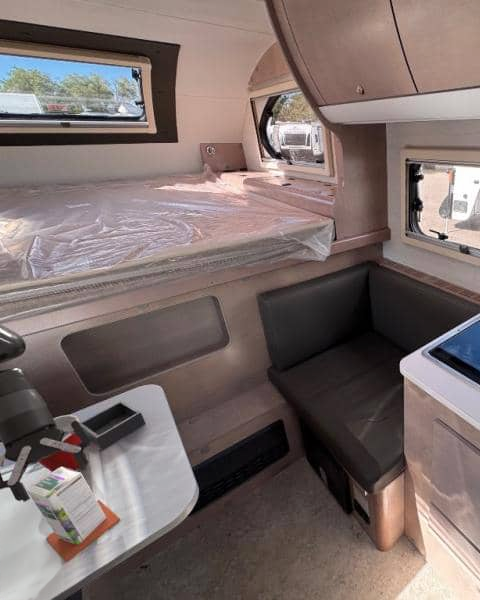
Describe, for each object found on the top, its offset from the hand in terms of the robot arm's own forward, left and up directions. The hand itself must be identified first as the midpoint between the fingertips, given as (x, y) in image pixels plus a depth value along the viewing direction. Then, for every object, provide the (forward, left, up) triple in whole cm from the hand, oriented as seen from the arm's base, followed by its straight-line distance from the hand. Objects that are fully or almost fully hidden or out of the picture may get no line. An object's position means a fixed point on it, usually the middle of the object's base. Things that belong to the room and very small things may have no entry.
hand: (56, 484), depth 66 cm
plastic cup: (+5, +17, -10) cm, 20 cm away
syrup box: (-1, -5, -10) cm, 11 cm away
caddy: (+16, +20, -10) cm, 28 cm away
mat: (-1, -5, -10) cm, 11 cm away
